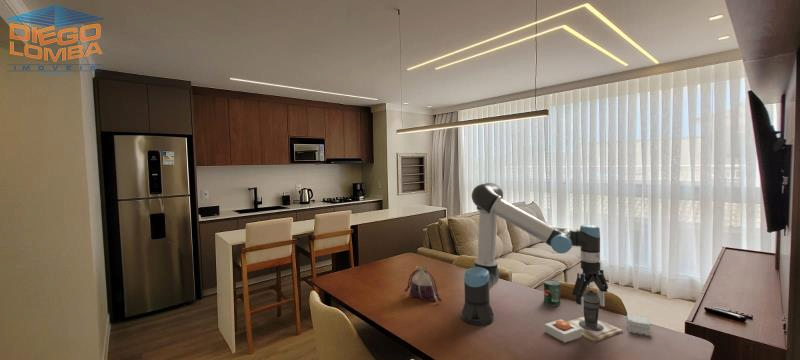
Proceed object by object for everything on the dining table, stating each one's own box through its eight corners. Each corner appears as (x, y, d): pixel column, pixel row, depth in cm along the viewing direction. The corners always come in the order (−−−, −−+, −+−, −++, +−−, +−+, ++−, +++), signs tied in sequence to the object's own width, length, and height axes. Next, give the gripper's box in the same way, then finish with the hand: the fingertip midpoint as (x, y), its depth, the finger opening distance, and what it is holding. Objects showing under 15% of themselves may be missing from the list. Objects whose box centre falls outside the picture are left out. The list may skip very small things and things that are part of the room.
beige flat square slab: (594, 341, 136) (594, 338, 135) (561, 325, 150) (561, 322, 150) (622, 332, 143) (622, 328, 143) (588, 317, 157) (588, 314, 157)
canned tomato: (540, 301, 177) (540, 281, 177) (550, 298, 181) (550, 278, 180) (553, 307, 170) (553, 285, 170) (563, 303, 174) (563, 283, 173)
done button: (563, 332, 138) (563, 327, 138) (552, 326, 144) (552, 322, 144) (573, 329, 141) (573, 324, 141) (561, 323, 146) (561, 319, 146)
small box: (648, 328, 146) (648, 317, 145) (650, 336, 139) (650, 324, 139) (626, 324, 149) (626, 313, 149) (628, 332, 143) (628, 320, 143)
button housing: (564, 342, 136) (564, 334, 136) (545, 331, 145) (544, 324, 145) (581, 337, 140) (581, 328, 140) (561, 326, 149) (561, 319, 149)
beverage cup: (591, 331, 142) (590, 285, 141) (577, 323, 149) (577, 279, 148) (604, 327, 144) (604, 283, 142) (590, 320, 151) (590, 277, 149)
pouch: (399, 297, 189) (399, 264, 188) (407, 292, 196) (406, 260, 195) (439, 305, 176) (438, 270, 175) (446, 300, 183) (445, 266, 182)
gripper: (578, 266, 137) (578, 317, 138) (617, 258, 147) (617, 305, 148) (562, 262, 144) (563, 310, 145) (601, 254, 154) (601, 300, 155)
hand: (590, 308), depth 146 cm, fingers open, 13 cm apart
